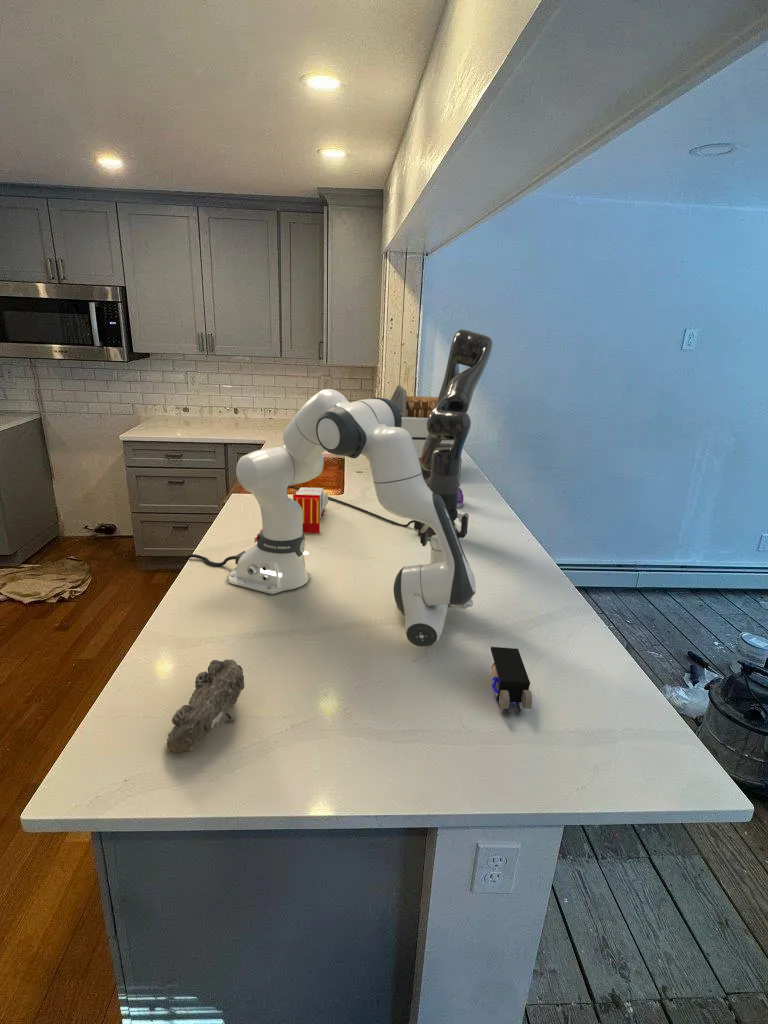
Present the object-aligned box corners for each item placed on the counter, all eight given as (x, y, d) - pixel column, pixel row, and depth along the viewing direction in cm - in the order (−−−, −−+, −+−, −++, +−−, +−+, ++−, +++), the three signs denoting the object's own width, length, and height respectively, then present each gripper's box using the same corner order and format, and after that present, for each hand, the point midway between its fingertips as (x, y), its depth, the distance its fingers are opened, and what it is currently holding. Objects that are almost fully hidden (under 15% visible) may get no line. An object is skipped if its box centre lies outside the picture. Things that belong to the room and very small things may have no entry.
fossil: (192, 660, 117) (244, 628, 112) (224, 691, 120) (276, 661, 115) (142, 746, 98) (202, 712, 93) (182, 779, 101) (242, 748, 96)
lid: (433, 550, 147) (433, 542, 146) (427, 542, 152) (428, 535, 151) (451, 549, 148) (452, 541, 147) (445, 541, 153) (446, 534, 152)
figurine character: (531, 725, 112) (514, 671, 125) (537, 696, 108) (519, 644, 122) (497, 724, 111) (484, 671, 125) (502, 695, 108) (488, 644, 121)
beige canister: (444, 598, 157) (449, 539, 151) (441, 605, 153) (446, 545, 147) (429, 595, 158) (434, 537, 152) (425, 602, 154) (430, 542, 148)
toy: (329, 482, 221) (323, 496, 191) (328, 516, 224) (322, 535, 194) (297, 482, 220) (287, 495, 191) (297, 515, 223) (287, 534, 194)
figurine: (450, 510, 225) (453, 474, 220) (436, 502, 234) (439, 467, 228) (469, 507, 229) (473, 472, 224) (455, 500, 238) (458, 465, 233)
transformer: (382, 463, 289) (386, 382, 275) (445, 464, 293) (451, 384, 279) (390, 482, 257) (394, 392, 243) (460, 483, 261) (468, 394, 247)
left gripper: (473, 597, 138) (476, 573, 151) (391, 586, 142) (401, 563, 155) (471, 619, 141) (474, 594, 153) (390, 608, 144) (400, 584, 157)
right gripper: (474, 489, 145) (468, 547, 151) (421, 481, 150) (417, 538, 156) (467, 497, 139) (461, 558, 144) (412, 488, 143) (408, 548, 149)
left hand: (437, 578), depth 154 cm, fingers closed on beige canister, 4 cm apart
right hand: (438, 547), depth 150 cm, fingers open, 7 cm apart
